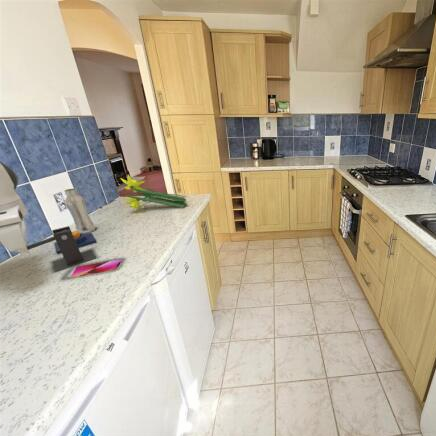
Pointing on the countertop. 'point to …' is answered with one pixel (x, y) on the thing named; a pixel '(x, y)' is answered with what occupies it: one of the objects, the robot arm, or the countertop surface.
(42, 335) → the countertop surface
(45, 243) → the switch lever
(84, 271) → the smartphone
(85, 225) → the plastic bottle
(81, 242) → the boil block
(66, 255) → the black stand
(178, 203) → the daffodil flowers
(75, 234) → the boil button
